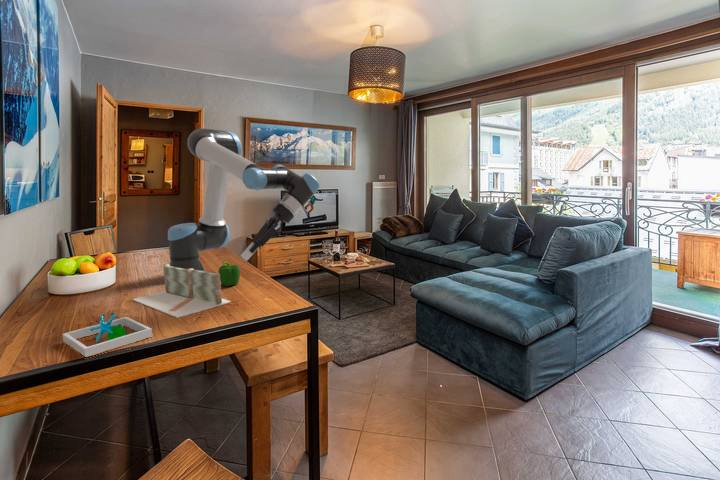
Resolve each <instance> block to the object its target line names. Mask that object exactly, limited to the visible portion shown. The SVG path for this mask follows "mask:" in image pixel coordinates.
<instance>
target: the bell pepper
mask: <svg viewBox="0 0 720 480" xmlns="http://www.w3.org/2000/svg"><path fill="white" fill-rule="evenodd" d="M218 274H220V282H221V286H222V287H230V286H236V285H238V283H239V281H240V277H241V268H240V266H239V265H238V264H231V263H229V262H228V261H223V262H222V265H221V266H220V267H219V269H218Z"/></svg>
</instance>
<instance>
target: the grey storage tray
mask: <svg viewBox="0 0 720 480" xmlns="http://www.w3.org/2000/svg"><path fill="white" fill-rule="evenodd" d="M107 322H108V321H104V323H107ZM118 324H120V325H122V326H121V327H123V326H125V327H126V326H127V327H126V328H128V327H129V329H130V328H131V329H130V330H132V329H133V330H132V331H134V330H135V331H134V332H131V333H128V334H127V335H125V336H122V337H119V338H115V339H112V340H109V341H107V340H106V341H103V342H102V341H101V342H99V343H96V344H93V345H89V346H86V345H85V344H84V343H82V342H81V341H79V340H76V339H77V338H81V337H84V336H89V335H92V334H96V333H99V332H100V330H101V329H97V330H93V331H90V330H89V329H92V328H96V327H99V326H101V325H100V324H99V323H98V324H95V325H91V326H87V327H86V326H85V327H83V328H79V329H76V330H72V331H68V332H64V333H62V340H63V343H64V342H66V343H67V344H68V345H70V346H71V347H73V348H74V349H75V350H77V351H78V352H80V353H81V354H82V355H84V356H85V357H87V356H90V355H93V354H96V353H100V352H103V351H106V350H109V349H113V348H116V347H119V346H122V345H126V344H129V343H133V342H136V341H139V340H142V339H145V338H149V337H152V338H153V329H152V328H151V327H150V326H147V325H145V324H143V323H141V322H139V321H137V320H135V319H132V318H130V317H128V316H125V317H121V318H117V319H116V318H115V319H114V320H112V323H111V325H110V326H115V325H118ZM123 328H124V327H123ZM136 331H137V332H136ZM149 339H150V338H149ZM133 344H134V343H133Z"/></svg>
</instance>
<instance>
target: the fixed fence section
mask: <svg viewBox="0 0 720 480" xmlns="http://www.w3.org/2000/svg"><path fill="white" fill-rule="evenodd" d="M169 265H170V263H164V264H163V276H164V277H163V278H164V288H165V291H166V292H170V293H174V294H178V295H182V296H186V297H189V298H193V286H192V273H191V270H194V269H193V268H190V269H183V268H178V267H172V266H169Z"/></svg>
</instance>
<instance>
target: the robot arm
mask: <svg viewBox="0 0 720 480" xmlns="http://www.w3.org/2000/svg"><path fill="white" fill-rule="evenodd" d="M242 145H243V144H242V142H241V140H240V138H239V136H238V135H237V134H236V133H234V132H232V131H228V130H221V129H212V128H211V129H210V128H203V127H202V128H198V129H195V130H193V131H192V132H191V133H190V134H189V136H188V138H187V148H188V150H189V151H190V154H191V155H193V156H195V157H196V158H197V159H199V160H200V161H204V162H205V161H206V163H208V170H207V178H206V188H205V197H204V198H205V199H204V205H203V206H204V207H203V215H202V216H201V217H200V218H199V219H198V225H197V223H196V222H186V223H185V222H184V223H180V224H179V223H178V224H175V225H173V226H170V227H169V228H168V230H167V240H168V252H169V266H172V267H178V268H183V269H190V268H193V269H194V270H199V271H205V269H204V266H203V263H202V262H201V259H200V252H203V251H209V250H215V249H216V250H217V249H221V248H223V247H225V246H226V245H227V244H228V242H229V241H230V237H231V232H230V231H231V230H229V226H228V225H227V222H226V220H225V219H224V214H225V206H226V200H227V192H228V184H229V177H230V174H231V175H233V176H234V177H236V178H238V179H240V180H241V181H242V183H243V184H244V186H245V187H246V189H249V190H256V191H260V190H270V189H271V190H280V189H283V190H284V191H286V192H287V193H286V194H285V195H284V196H283V197H282V199H280V201H279V203H277V204H276V205H275V206H274V207H273V208H272V212H273V214H274V215H273V216H272V217H270V218H269V219H267V220H265V222H264V224H263V225H262V226H261V228H260V229H259V231H258V232H257V233H256V234H255V236H254V237H253V238H252V241H251V243H250V244H249V245H248V246H247V248H246V249H245V250H244V251H243V252H242V253H241V254H240V255H239V257H241V258H242V259H243V260H245V262H248V260H250V258H251V257H252V256H253V255H254V254H255V253H256V251H257V250H258V249H259V248H261V247H264V246H265V245H266V244H267V242H269V241H270V240H271V239H272V238H273V236H274V235H276V234H277V233H278V232H279V231H280V230H282V225H283V223H285V224H289V223H290V222H292V220H293V219H294V218H295V216H296V215H297V214H298V213H300V212H301V209H302V208H303V207H304V206H305V205H306V204H307V202H308V201H309V200H310V199H311V198H312V197H313V196H314V195H315V194H316V192H317V191H318V190H319V188H320V186H321V185H320V182H319V181H318V180H317V178H316V177H314V176H313V175H312V174H311V173H304V174H303V175H299V174H298V173H296V172H295V171H293V170H291V169H290V168H289V167H287V166H284V165H282V164H276V165H275V166H272V167H270V168H269V167H263V166H260V165H259V164H257V163H254V162H253V161H251V160H249V159H247V158H246V157H243V156H242V151H243V147H242Z"/></svg>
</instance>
